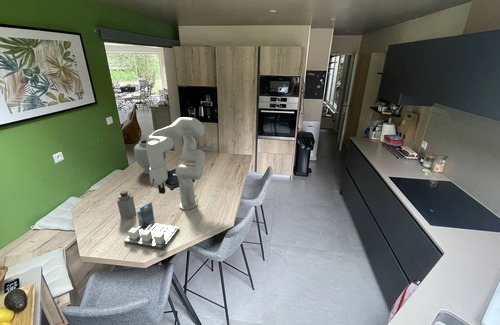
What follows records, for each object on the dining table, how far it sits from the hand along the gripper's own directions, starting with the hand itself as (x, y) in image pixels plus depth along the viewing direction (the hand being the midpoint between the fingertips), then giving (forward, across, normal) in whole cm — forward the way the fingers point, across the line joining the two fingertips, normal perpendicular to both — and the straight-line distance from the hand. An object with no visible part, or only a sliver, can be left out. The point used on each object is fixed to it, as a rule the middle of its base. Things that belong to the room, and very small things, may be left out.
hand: (162, 192), depth 135 cm
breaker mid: (+24, +13, -5) cm, 28 cm away
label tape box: (+27, -4, -19) cm, 33 cm away
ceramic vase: (+30, -74, -63) cm, 102 cm away
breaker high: (+24, +13, +3) cm, 27 cm away
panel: (+26, +8, -5) cm, 28 cm away
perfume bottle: (+27, -6, -34) cm, 44 cm away
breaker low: (+24, +13, -13) cm, 30 cm away
